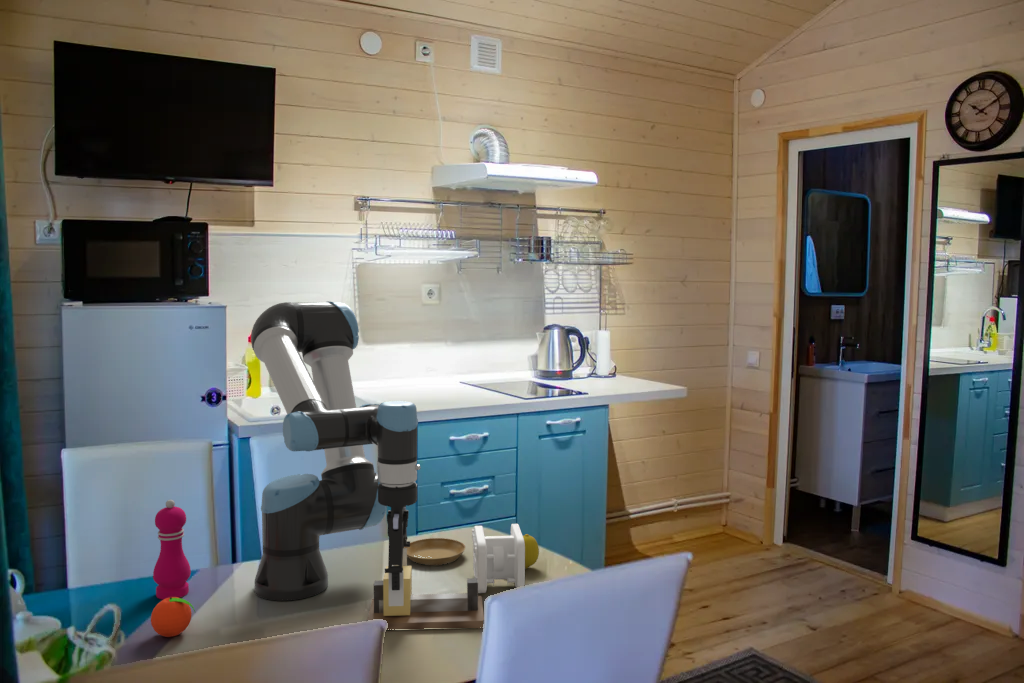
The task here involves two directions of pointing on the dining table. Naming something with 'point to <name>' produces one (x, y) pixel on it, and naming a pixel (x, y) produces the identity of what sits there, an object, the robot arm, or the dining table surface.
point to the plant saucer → (435, 551)
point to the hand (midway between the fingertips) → (398, 592)
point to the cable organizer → (498, 557)
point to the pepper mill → (171, 553)
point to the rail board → (432, 619)
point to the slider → (407, 594)
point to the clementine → (171, 616)
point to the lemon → (530, 550)
